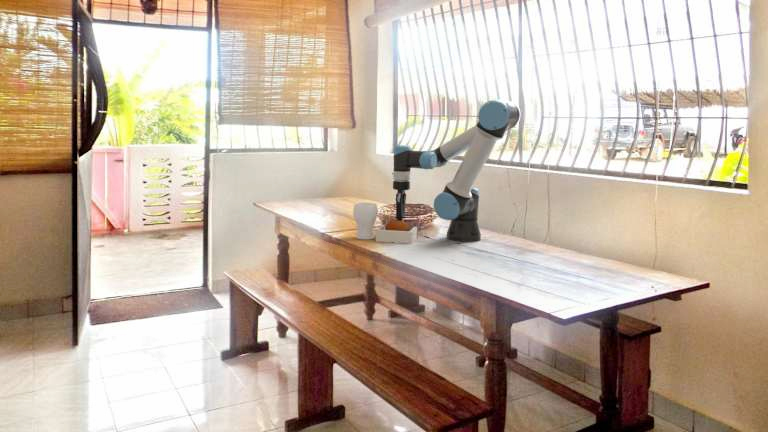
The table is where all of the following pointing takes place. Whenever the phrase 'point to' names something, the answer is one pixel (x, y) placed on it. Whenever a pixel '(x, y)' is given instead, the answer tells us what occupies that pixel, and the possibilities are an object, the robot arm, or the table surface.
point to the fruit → (397, 226)
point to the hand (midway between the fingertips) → (400, 233)
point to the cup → (365, 219)
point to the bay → (396, 234)
